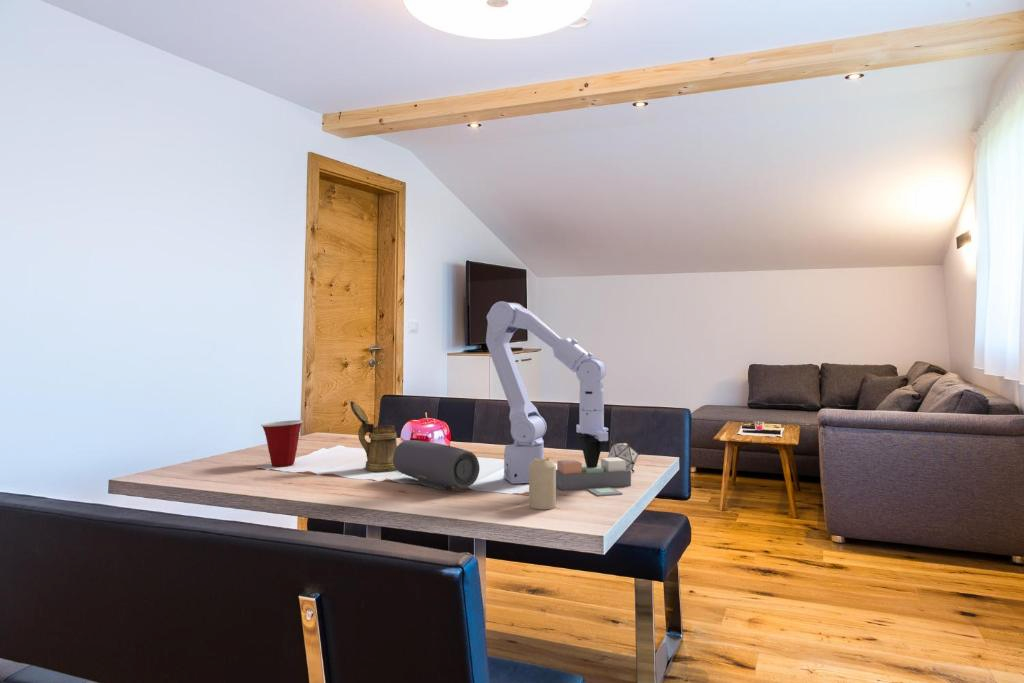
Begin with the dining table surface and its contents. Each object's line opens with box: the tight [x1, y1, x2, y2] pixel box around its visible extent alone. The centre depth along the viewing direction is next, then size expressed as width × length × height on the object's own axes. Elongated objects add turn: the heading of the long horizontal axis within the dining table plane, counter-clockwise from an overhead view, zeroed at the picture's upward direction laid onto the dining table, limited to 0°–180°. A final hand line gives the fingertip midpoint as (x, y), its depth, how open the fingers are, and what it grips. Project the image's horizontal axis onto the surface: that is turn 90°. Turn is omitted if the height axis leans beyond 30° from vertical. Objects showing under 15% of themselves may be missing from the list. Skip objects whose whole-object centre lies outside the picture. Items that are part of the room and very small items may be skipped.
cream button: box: [600, 457, 626, 472], centre depth 160 cm, size 4×4×3 cm
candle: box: [528, 457, 557, 511], centre depth 139 cm, size 6×6×10 cm
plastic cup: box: [260, 419, 304, 468], centre depth 183 cm, size 11×11×12 cm
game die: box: [607, 439, 642, 473], centre depth 173 cm, size 9×8×10 cm
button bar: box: [556, 469, 632, 491], centre depth 158 cm, size 17×6×4 cm, turn 106°
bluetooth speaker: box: [393, 439, 480, 490], centre depth 159 cm, size 23×9×10 cm, turn 44°
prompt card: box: [586, 487, 623, 497], centre depth 151 cm, size 6×6×1 cm
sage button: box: [582, 464, 604, 473], centre depth 158 cm, size 4×4×3 cm
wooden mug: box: [349, 400, 398, 473], centre depth 178 cm, size 9×14×18 cm, turn 84°
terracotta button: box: [556, 459, 583, 474], centre depth 157 cm, size 4×4×3 cm
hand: (591, 467), depth 158 cm, fingers closed, pressing on sage button
